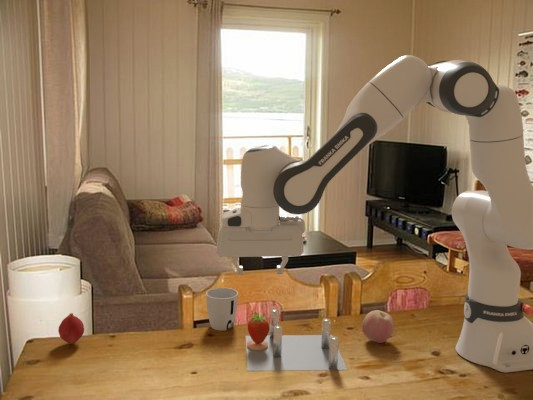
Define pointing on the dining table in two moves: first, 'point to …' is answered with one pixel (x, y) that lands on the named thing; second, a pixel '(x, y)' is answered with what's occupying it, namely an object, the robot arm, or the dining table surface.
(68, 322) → the onion
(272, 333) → the posts
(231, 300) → the cup
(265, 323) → the fruit
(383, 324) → the apple
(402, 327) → the dining table surface
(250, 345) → the pad
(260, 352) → the board
